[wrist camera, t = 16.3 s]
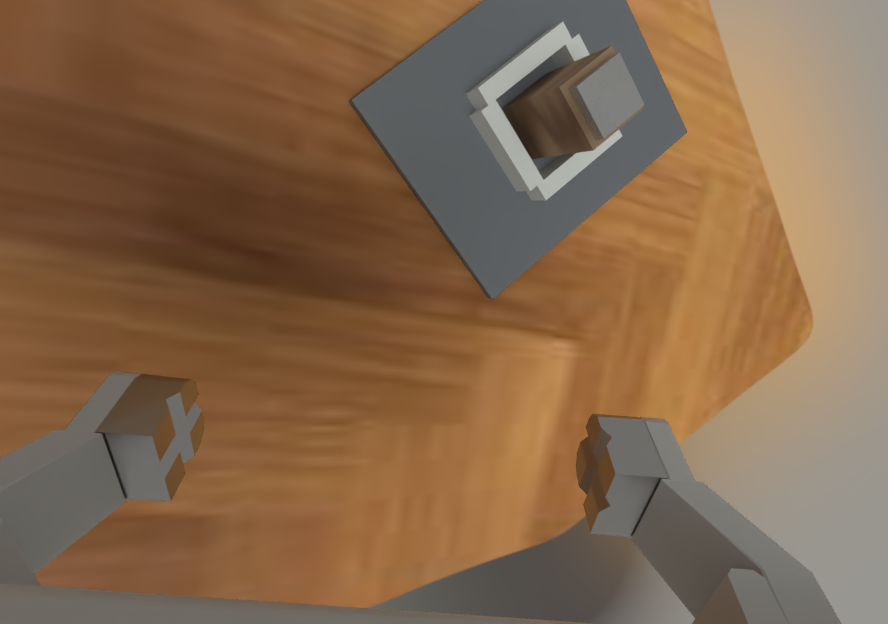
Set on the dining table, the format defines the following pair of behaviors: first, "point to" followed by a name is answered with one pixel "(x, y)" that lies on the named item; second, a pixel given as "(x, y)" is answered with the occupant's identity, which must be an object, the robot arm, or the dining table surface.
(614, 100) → the plug
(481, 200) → the end holder
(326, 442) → the dining table surface
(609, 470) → the robot arm
